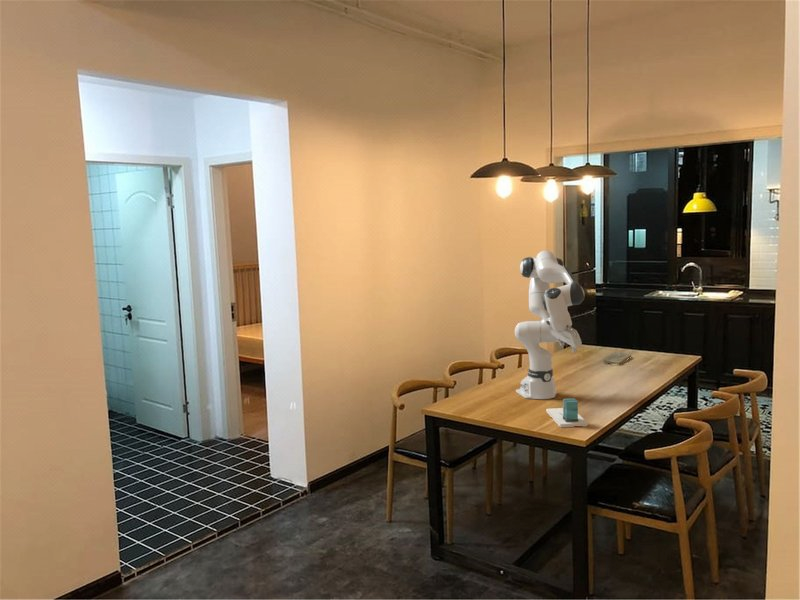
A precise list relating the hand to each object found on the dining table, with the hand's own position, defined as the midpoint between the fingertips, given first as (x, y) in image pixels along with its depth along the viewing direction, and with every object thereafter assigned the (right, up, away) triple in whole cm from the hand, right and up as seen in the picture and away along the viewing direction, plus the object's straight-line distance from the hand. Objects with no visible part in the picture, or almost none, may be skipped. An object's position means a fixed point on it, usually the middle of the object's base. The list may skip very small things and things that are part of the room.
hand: (568, 348), depth 290 cm
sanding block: (-2, -31, -9) cm, 32 cm away
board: (-2, -32, -2) cm, 32 cm away
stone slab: (+61, -17, +115) cm, 132 cm away
